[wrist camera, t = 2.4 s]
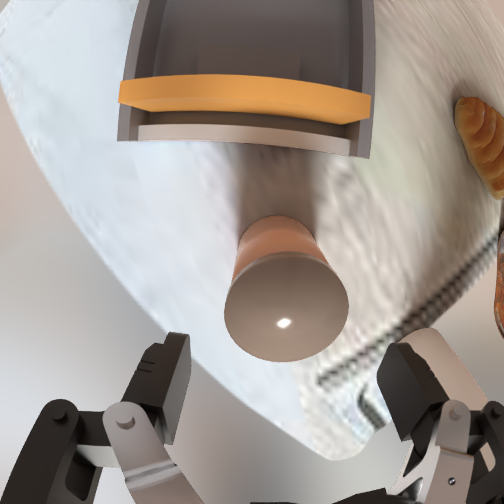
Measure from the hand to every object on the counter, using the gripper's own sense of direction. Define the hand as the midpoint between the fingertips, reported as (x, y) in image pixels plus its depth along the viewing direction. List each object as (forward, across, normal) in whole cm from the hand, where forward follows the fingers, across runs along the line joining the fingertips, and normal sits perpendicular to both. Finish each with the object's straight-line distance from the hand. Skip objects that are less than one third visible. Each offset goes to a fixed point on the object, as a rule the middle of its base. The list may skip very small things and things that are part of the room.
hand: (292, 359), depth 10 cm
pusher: (+10, +3, -12) cm, 16 cm away
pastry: (+11, -18, -12) cm, 24 cm away
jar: (+11, 0, 0) cm, 11 cm away
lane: (+10, +3, -18) cm, 21 cm away
